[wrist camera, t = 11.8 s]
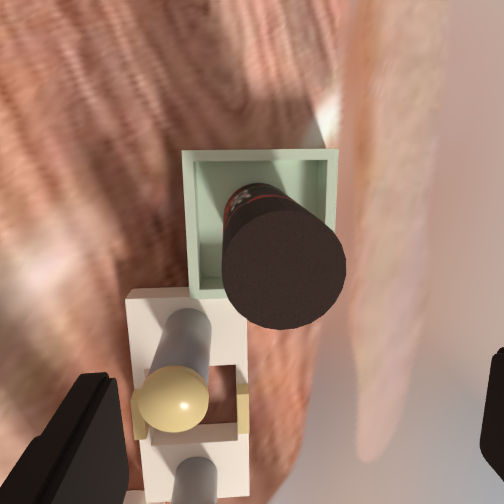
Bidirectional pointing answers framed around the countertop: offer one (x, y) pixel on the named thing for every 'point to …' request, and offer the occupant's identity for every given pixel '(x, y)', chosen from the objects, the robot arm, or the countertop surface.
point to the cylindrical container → (137, 498)
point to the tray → (233, 178)
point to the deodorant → (278, 259)
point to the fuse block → (186, 395)
